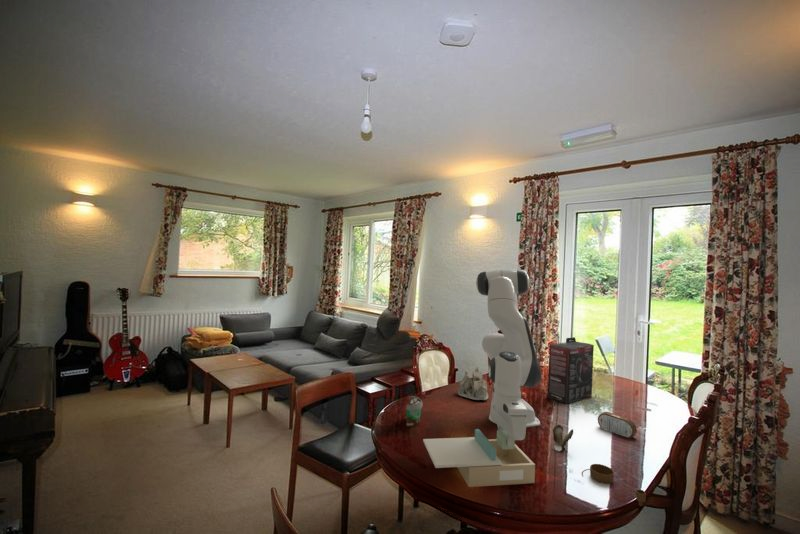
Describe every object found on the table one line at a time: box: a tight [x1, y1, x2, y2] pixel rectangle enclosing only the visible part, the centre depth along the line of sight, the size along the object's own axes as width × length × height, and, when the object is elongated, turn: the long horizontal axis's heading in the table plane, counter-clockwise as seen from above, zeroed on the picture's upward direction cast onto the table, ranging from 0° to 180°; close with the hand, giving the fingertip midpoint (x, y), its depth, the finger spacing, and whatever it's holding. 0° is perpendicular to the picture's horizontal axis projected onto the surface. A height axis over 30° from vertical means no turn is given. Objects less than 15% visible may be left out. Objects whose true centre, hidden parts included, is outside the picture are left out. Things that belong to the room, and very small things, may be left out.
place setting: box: [581, 463, 647, 507], centre depth 120 cm, size 18×20×6 cm
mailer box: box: [456, 438, 536, 488], centre depth 127 cm, size 22×18×7 cm
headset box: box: [546, 336, 595, 405], centre depth 207 cm, size 25×12×33 cm, turn 124°
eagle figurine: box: [552, 424, 574, 453], centre depth 144 cm, size 8×7×9 cm
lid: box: [422, 428, 502, 469], centre depth 125 cm, size 22×18×4 cm
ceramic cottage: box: [457, 366, 489, 401], centre depth 202 cm, size 16×16×15 cm
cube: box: [496, 429, 516, 449], centre depth 127 cm, size 4×4×4 cm
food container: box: [405, 395, 424, 428], centre depth 164 cm, size 12×6×10 cm, turn 168°
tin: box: [597, 411, 638, 439], centre depth 161 cm, size 15×3×8 cm, turn 37°
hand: (505, 441), depth 127 cm, fingers closed on cube, 4 cm apart
